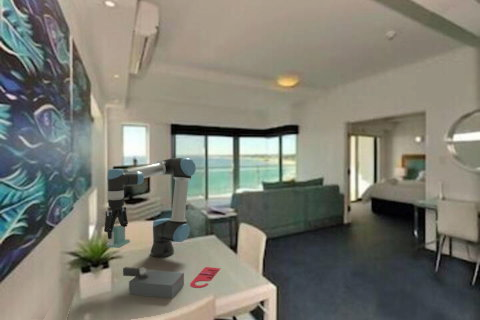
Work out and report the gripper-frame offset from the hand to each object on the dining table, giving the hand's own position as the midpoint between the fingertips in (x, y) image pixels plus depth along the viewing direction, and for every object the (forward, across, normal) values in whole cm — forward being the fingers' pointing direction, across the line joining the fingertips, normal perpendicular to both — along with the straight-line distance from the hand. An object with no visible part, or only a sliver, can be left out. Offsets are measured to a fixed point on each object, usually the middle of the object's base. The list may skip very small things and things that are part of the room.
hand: (116, 241), depth 146 cm
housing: (+21, +3, +24) cm, 32 cm away
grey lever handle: (+15, +5, +13) cm, 20 cm away
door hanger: (+22, -14, +43) cm, 50 cm away
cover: (+1, 0, 0) cm, 1 cm away
